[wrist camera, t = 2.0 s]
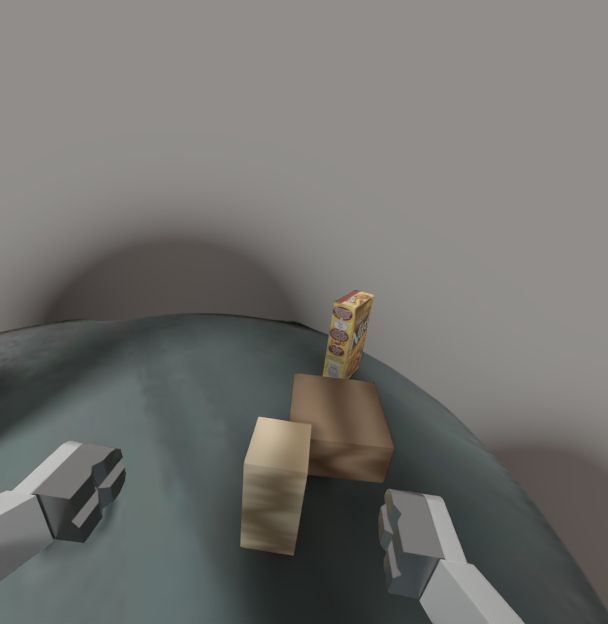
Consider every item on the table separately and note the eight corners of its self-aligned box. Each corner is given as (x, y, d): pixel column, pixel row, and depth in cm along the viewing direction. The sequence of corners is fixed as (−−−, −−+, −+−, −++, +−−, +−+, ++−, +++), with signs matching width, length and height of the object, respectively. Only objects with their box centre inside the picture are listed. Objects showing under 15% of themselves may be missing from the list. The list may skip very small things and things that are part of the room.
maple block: (240, 546, 26) (243, 463, 22) (253, 494, 31) (258, 416, 27) (293, 555, 26) (307, 473, 22) (299, 501, 31) (311, 424, 27)
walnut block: (283, 473, 34) (287, 436, 32) (290, 404, 45) (294, 373, 43) (382, 484, 34) (394, 448, 32) (366, 413, 45) (373, 382, 43)
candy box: (341, 389, 50) (357, 308, 44) (320, 379, 52) (333, 300, 46) (359, 366, 57) (376, 294, 51) (340, 359, 59) (353, 288, 53)
